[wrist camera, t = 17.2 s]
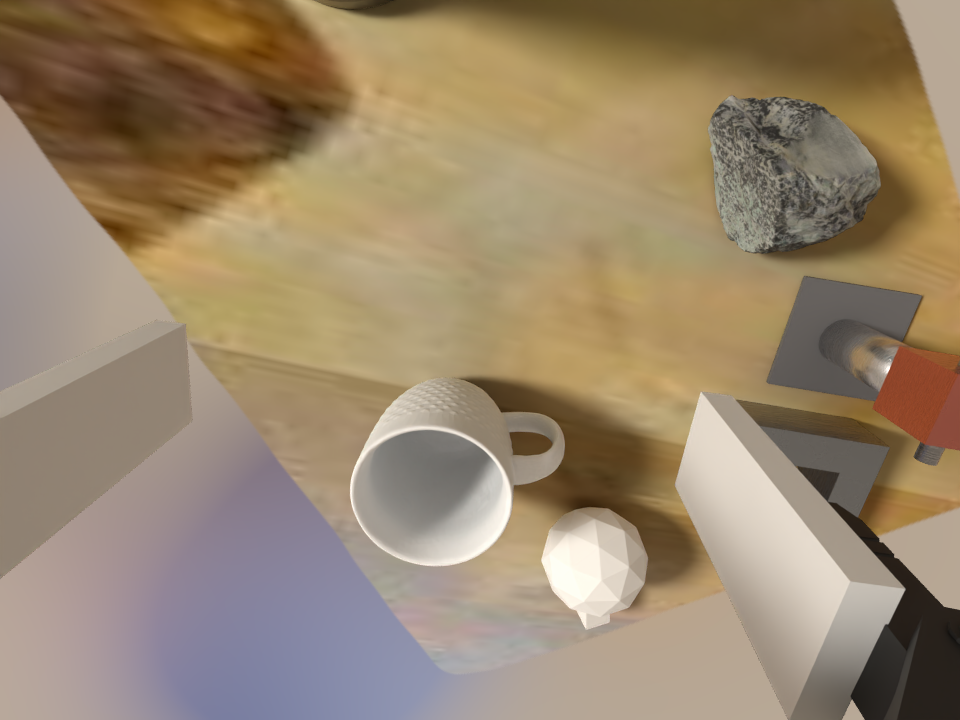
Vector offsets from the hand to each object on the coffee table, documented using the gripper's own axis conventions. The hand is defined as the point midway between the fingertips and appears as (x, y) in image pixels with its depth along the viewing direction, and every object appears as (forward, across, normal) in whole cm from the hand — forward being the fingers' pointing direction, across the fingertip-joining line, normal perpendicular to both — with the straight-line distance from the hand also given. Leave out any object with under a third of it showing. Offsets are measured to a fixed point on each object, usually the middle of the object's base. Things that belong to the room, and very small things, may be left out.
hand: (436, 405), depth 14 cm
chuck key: (+31, +29, -4) cm, 43 cm away
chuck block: (+31, +27, -16) cm, 44 cm away
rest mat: (+31, +29, -5) cm, 43 cm away
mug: (+31, 0, -16) cm, 35 cm away
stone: (+32, +19, +7) cm, 38 cm away
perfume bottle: (+31, +12, -27) cm, 43 cm away
